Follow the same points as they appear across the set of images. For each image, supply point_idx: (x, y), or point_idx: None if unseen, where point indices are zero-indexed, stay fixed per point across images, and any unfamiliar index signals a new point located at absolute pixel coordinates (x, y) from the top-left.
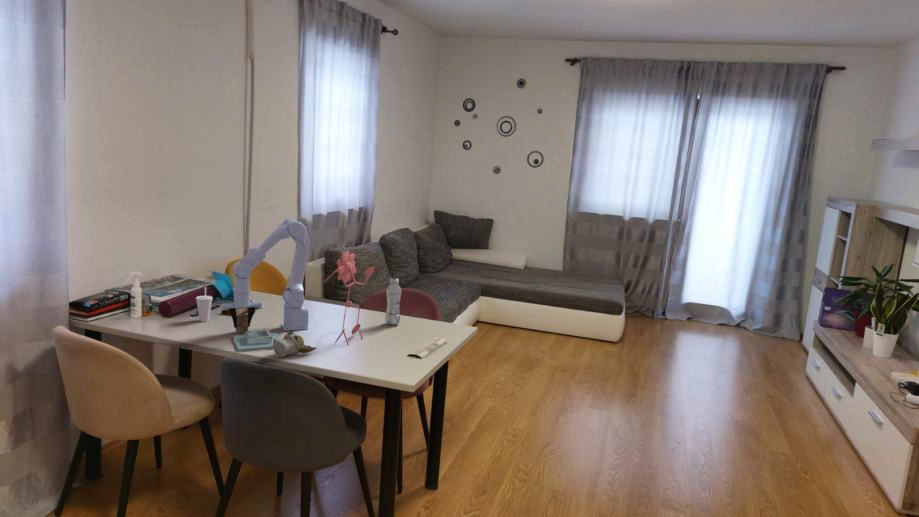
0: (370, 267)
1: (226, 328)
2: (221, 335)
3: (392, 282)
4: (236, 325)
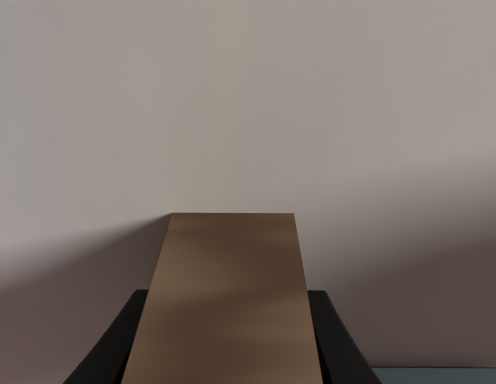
0: None
1: (45, 56)
2: (33, 291)
3: None
4: None
